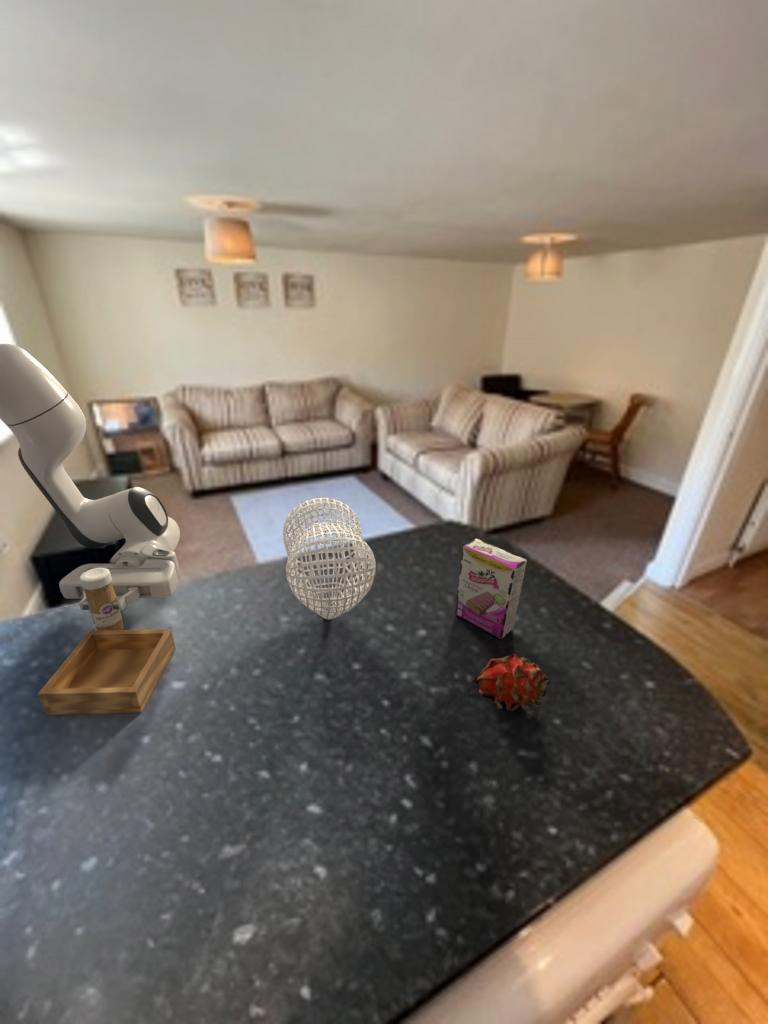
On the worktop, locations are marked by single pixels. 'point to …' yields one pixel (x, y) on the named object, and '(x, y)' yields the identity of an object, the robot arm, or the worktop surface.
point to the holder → (109, 673)
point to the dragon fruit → (512, 682)
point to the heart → (357, 546)
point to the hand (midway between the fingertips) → (100, 606)
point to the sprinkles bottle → (101, 599)
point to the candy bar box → (489, 587)
